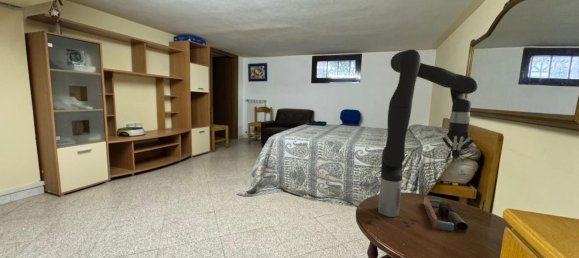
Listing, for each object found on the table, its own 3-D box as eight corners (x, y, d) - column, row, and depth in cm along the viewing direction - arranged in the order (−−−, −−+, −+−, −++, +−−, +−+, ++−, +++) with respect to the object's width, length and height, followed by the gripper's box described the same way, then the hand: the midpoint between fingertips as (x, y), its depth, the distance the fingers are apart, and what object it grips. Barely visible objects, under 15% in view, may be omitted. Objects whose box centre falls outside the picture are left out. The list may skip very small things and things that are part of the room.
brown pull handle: (432, 227, 101) (433, 219, 101) (423, 203, 123) (424, 196, 123) (453, 231, 99) (454, 222, 98) (440, 206, 121) (441, 198, 120)
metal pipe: (468, 232, 99) (469, 219, 98) (450, 230, 100) (451, 218, 99) (447, 211, 116) (449, 200, 115) (433, 210, 117) (434, 199, 116)
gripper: (444, 121, 109) (440, 157, 112) (479, 123, 104) (474, 161, 107) (441, 120, 116) (437, 154, 119) (473, 121, 111) (468, 156, 114)
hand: (455, 157), depth 113 cm, fingers closed
